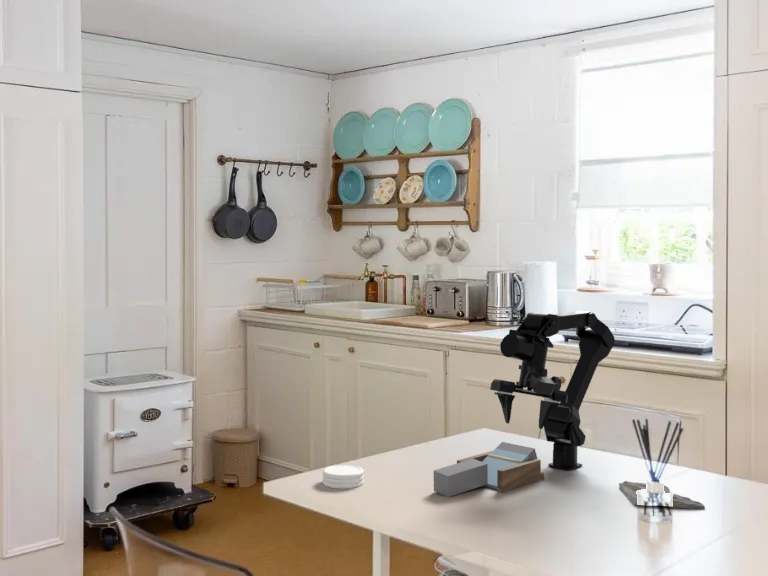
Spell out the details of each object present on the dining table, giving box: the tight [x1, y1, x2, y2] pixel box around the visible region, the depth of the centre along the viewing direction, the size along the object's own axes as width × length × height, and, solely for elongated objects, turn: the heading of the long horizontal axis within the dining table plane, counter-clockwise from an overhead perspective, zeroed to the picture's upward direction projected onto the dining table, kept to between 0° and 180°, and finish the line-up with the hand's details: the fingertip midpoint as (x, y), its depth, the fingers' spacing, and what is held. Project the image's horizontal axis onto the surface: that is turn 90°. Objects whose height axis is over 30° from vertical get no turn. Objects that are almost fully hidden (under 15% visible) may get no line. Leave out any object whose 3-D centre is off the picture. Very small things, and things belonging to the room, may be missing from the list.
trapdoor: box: [482, 441, 539, 490], centre depth 221 cm, size 10×16×3 cm, turn 135°
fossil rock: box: [618, 480, 706, 510], centre depth 206 cm, size 18×15×2 cm
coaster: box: [321, 464, 365, 490], centre depth 218 cm, size 10×10×4 cm
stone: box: [433, 459, 488, 498], centre depth 211 cm, size 5×5×12 cm
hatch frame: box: [456, 450, 545, 493], centre depth 220 cm, size 14×16×5 cm
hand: (524, 426), depth 221 cm, fingers open, 9 cm apart
